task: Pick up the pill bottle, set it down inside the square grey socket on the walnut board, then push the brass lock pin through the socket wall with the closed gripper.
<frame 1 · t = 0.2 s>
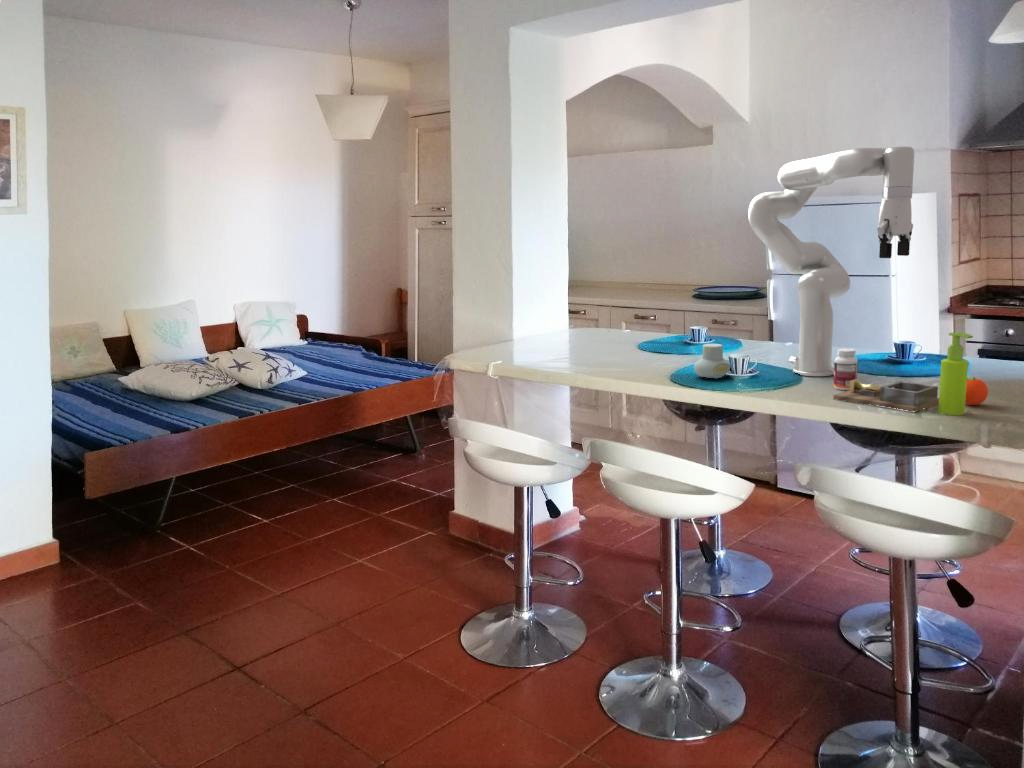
hand: (894, 256, 249), 36 cm above the breakfast bar, tool pointing down, fingers open, 9 cm apart
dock: (886, 401, 237), on the breakfast bar
pill bottle: (845, 388, 253), on the breakfast bar
clementine: (969, 405, 230), on the breakfast bar
soap dispenser: (952, 413, 222), on the breakfast bar
lock pin: (868, 387, 240), point 3 cm above the breakfast bar, slide at 0.0 cm
air freshener: (712, 378, 274), on the breakfast bar
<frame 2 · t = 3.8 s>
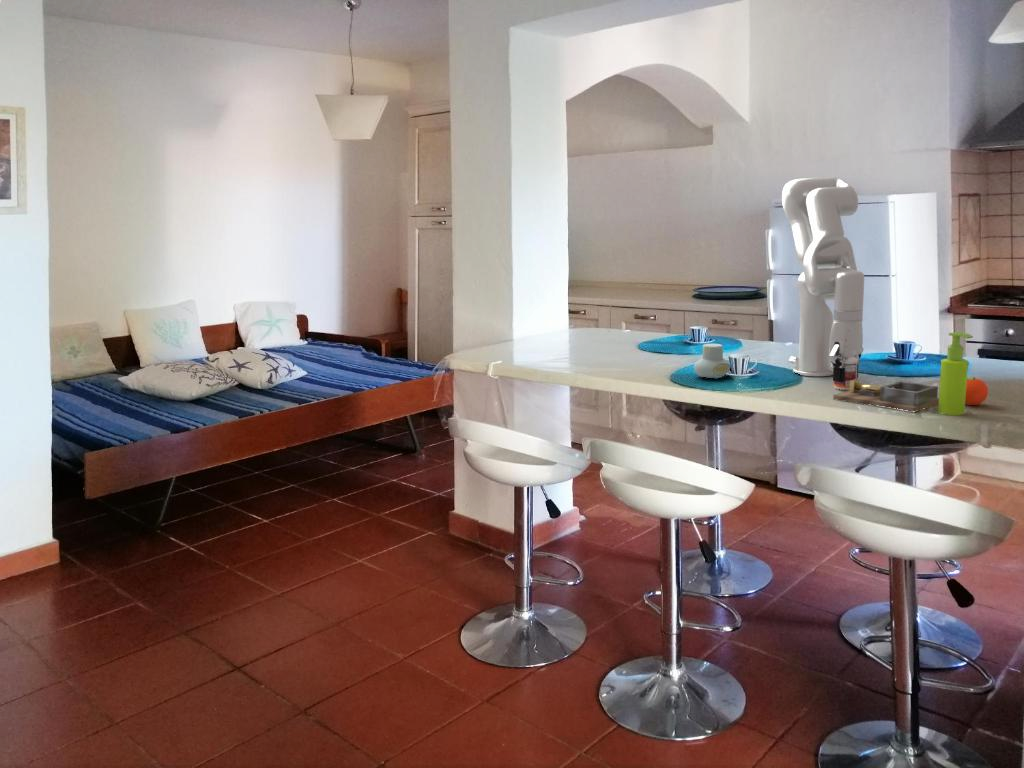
hand: (845, 379, 253), 3 cm above the breakfast bar, tool pointing down, fingers closed on pill bottle, 6 cm apart
pill bottle: (845, 388, 253), on the breakfast bar, touching gripper
everything else where it was.
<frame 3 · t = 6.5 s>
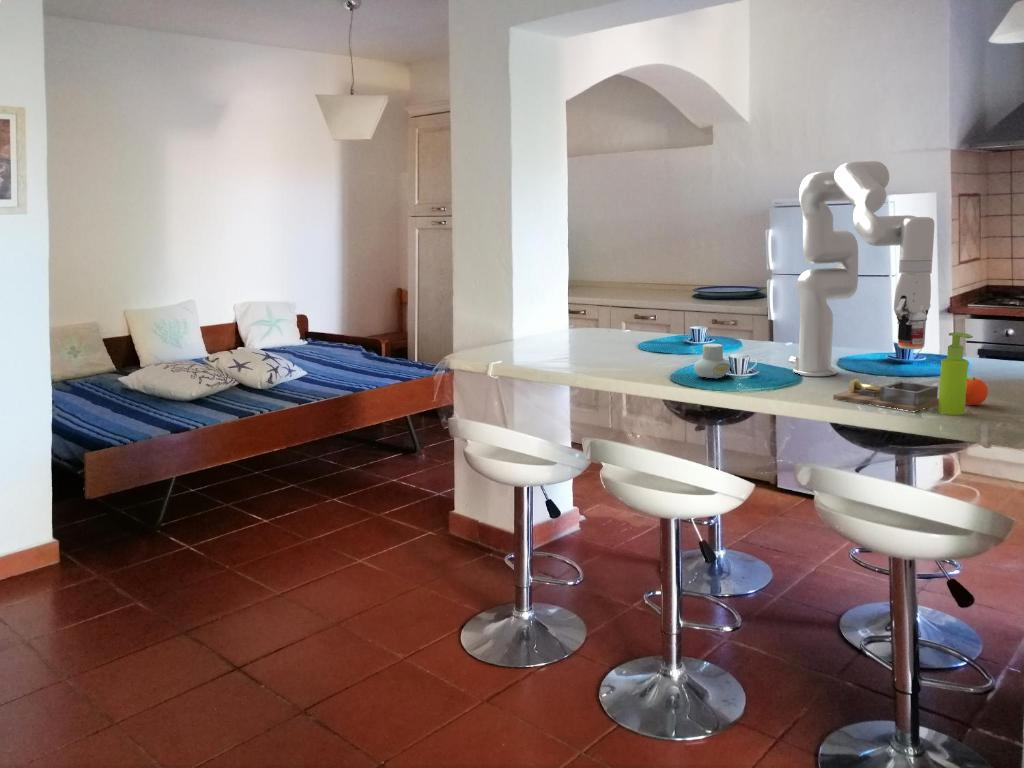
hand: (911, 337, 229), 17 cm above the breakfast bar, tool pointing down, fingers closed on pill bottle, 6 cm apart
pill bottle: (910, 348, 229), point 15 cm above the breakfast bar, touching gripper
everything else where it was.
when the fingers open (5 cm above the breakfast bar, at t = 9.3 s): pill bottle drops 1 cm, resting on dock.
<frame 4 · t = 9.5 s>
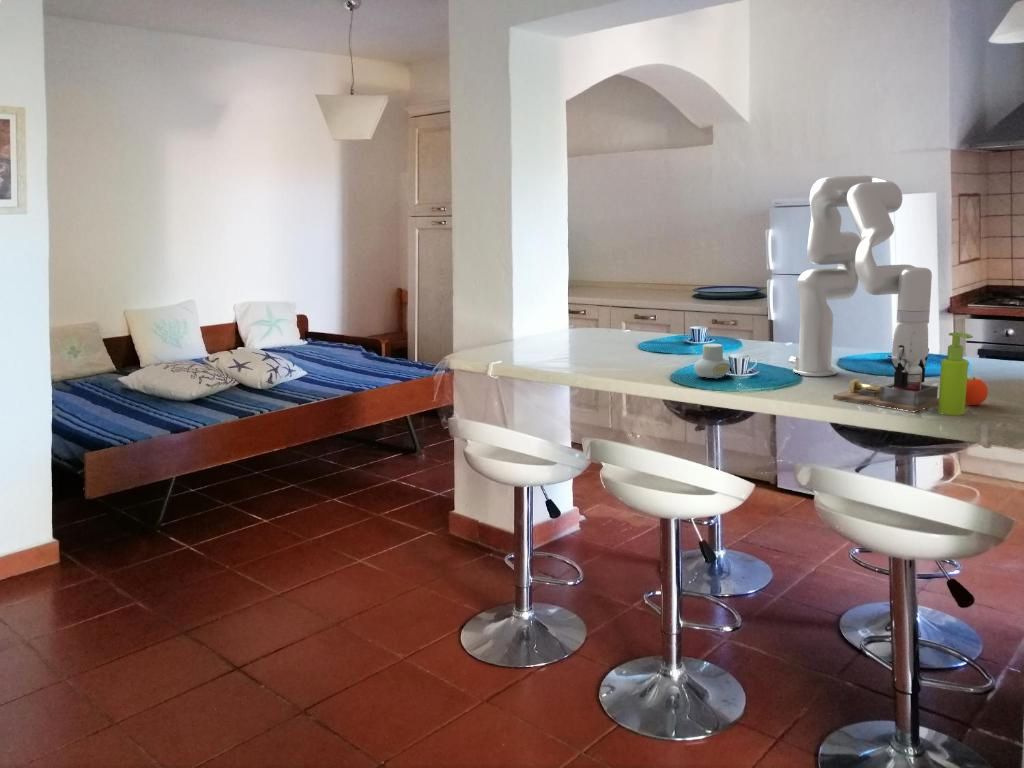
hand: (909, 384, 231), 5 cm above the breakfast bar, tool pointing down, fingers open, 8 cm apart
pill bottle: (907, 400, 232), point 1 cm above the breakfast bar, touching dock
everything else where it was.
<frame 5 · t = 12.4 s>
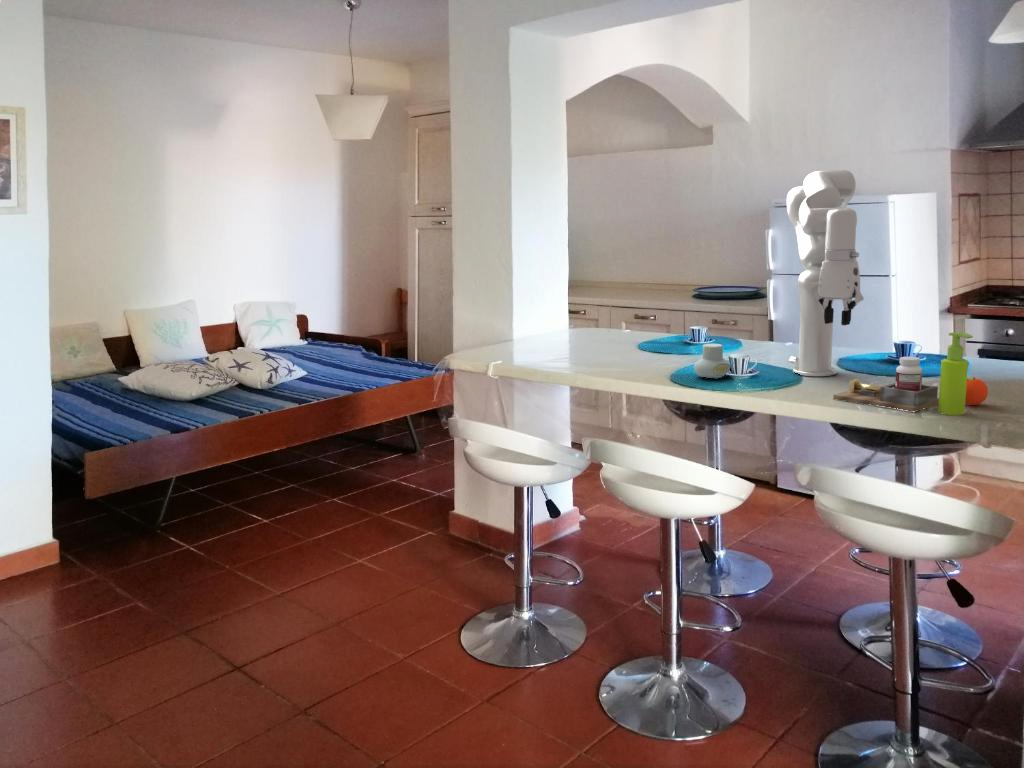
hand: (837, 323, 244), 19 cm above the breakfast bar, tool pointing down, fingers open, 4 cm apart
nothing on the breakfast bar moved.
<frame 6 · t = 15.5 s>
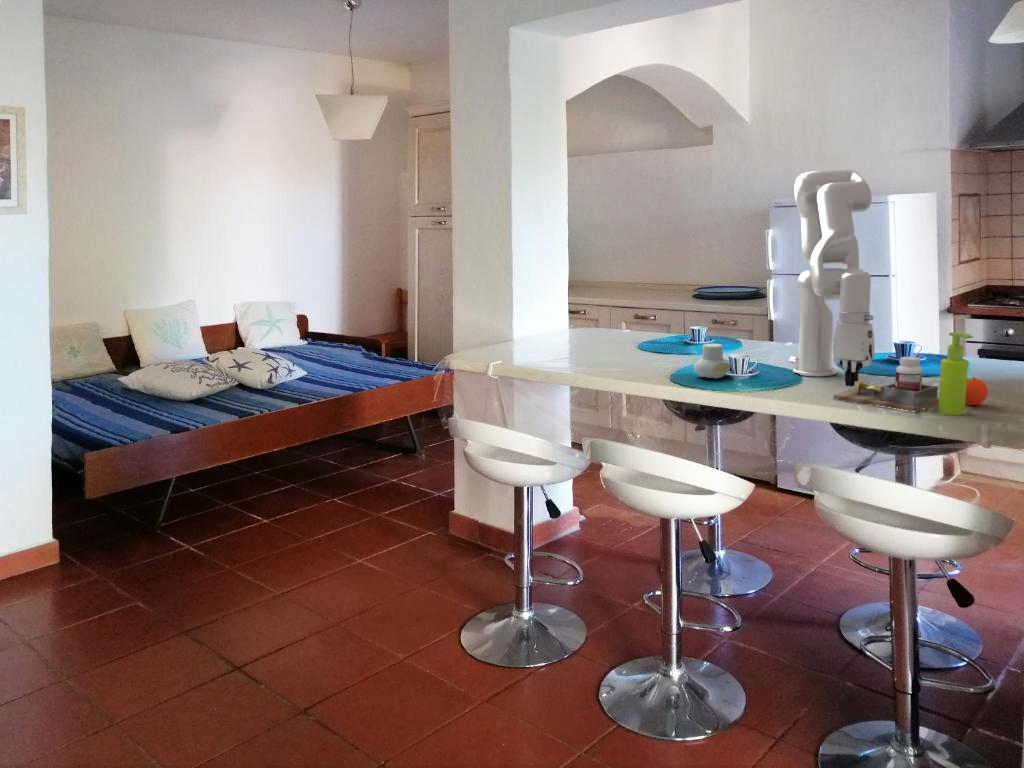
hand: (851, 385, 244), 3 cm above the breakfast bar, tool pointing down, fingers closed
lock pin: (873, 388, 239), point 3 cm above the breakfast bar, slide at 1.4 cm, touching gripper
everything else where it was.
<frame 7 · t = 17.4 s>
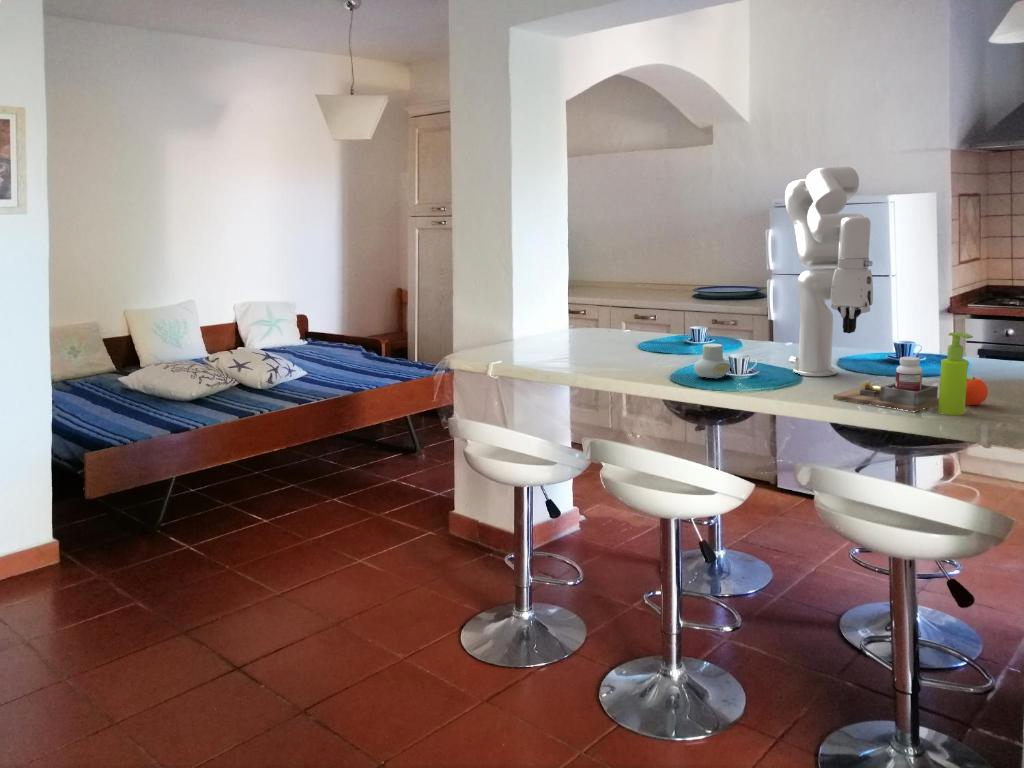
hand: (849, 332, 242), 17 cm above the breakfast bar, tool pointing down, fingers closed
lock pin: (879, 389, 237), point 3 cm above the breakfast bar, slide at 3.2 cm
everything else where it was.
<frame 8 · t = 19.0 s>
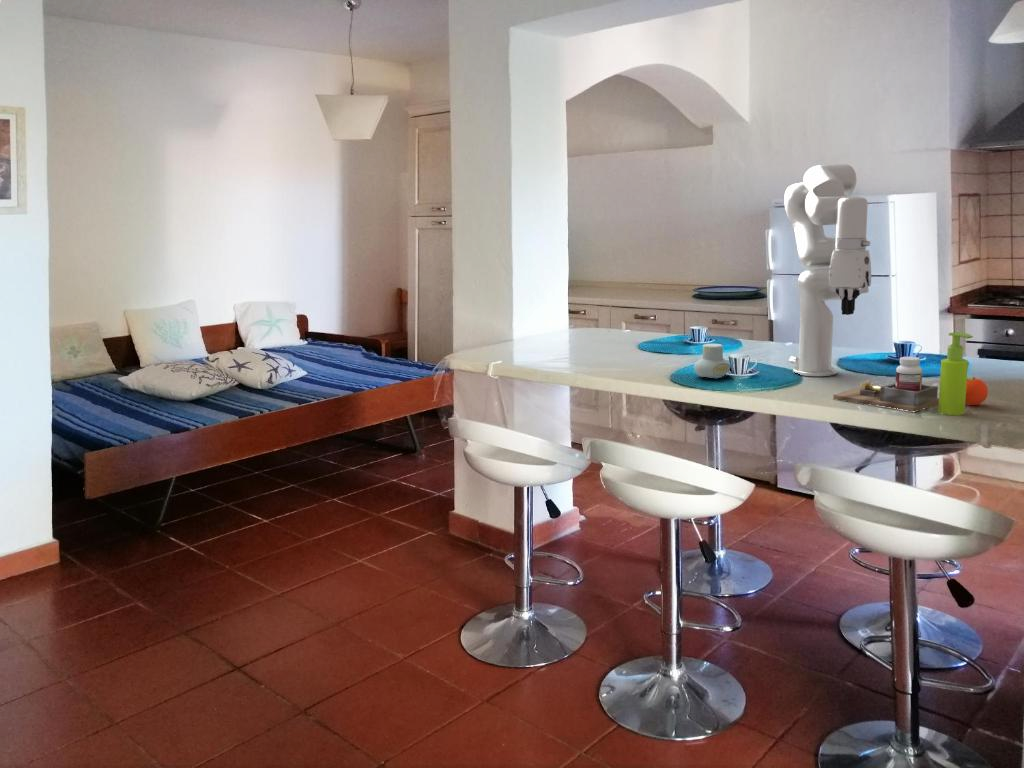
hand: (847, 314, 241), 22 cm above the breakfast bar, tool pointing down, fingers closed
nothing on the breakfast bar moved.
at the end: pill bottle 0.1 cm from the target spot on the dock, point 1.0 cm above the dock's base; pill bottle tilted 0°; lock pin slide at 3.2 cm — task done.
